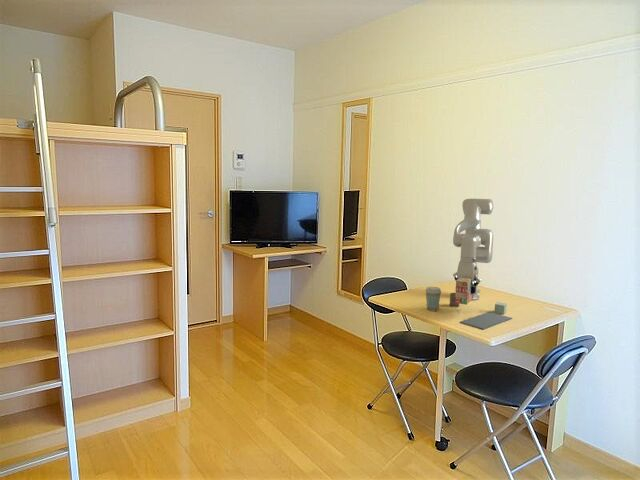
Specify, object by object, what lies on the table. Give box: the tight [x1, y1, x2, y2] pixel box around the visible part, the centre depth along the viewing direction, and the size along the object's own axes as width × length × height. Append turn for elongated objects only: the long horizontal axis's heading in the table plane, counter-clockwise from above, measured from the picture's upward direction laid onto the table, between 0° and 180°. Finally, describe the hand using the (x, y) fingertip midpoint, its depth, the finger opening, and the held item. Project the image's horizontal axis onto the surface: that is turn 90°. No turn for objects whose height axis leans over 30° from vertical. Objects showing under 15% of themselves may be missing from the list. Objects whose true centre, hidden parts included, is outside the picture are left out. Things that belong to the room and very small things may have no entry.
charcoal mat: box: [459, 311, 513, 331], centre depth 231 cm, size 27×13×1 cm, turn 129°
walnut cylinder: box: [449, 292, 460, 308], centre depth 256 cm, size 5×5×7 cm
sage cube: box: [493, 302, 508, 316], centre depth 245 cm, size 5×5×5 cm
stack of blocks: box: [455, 277, 478, 306], centre depth 242 cm, size 21×6×12 cm, turn 149°
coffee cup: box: [425, 286, 442, 312], centre depth 248 cm, size 8×8×12 cm
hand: (465, 291), depth 242 cm, fingers closed on stack of blocks, 7 cm apart
